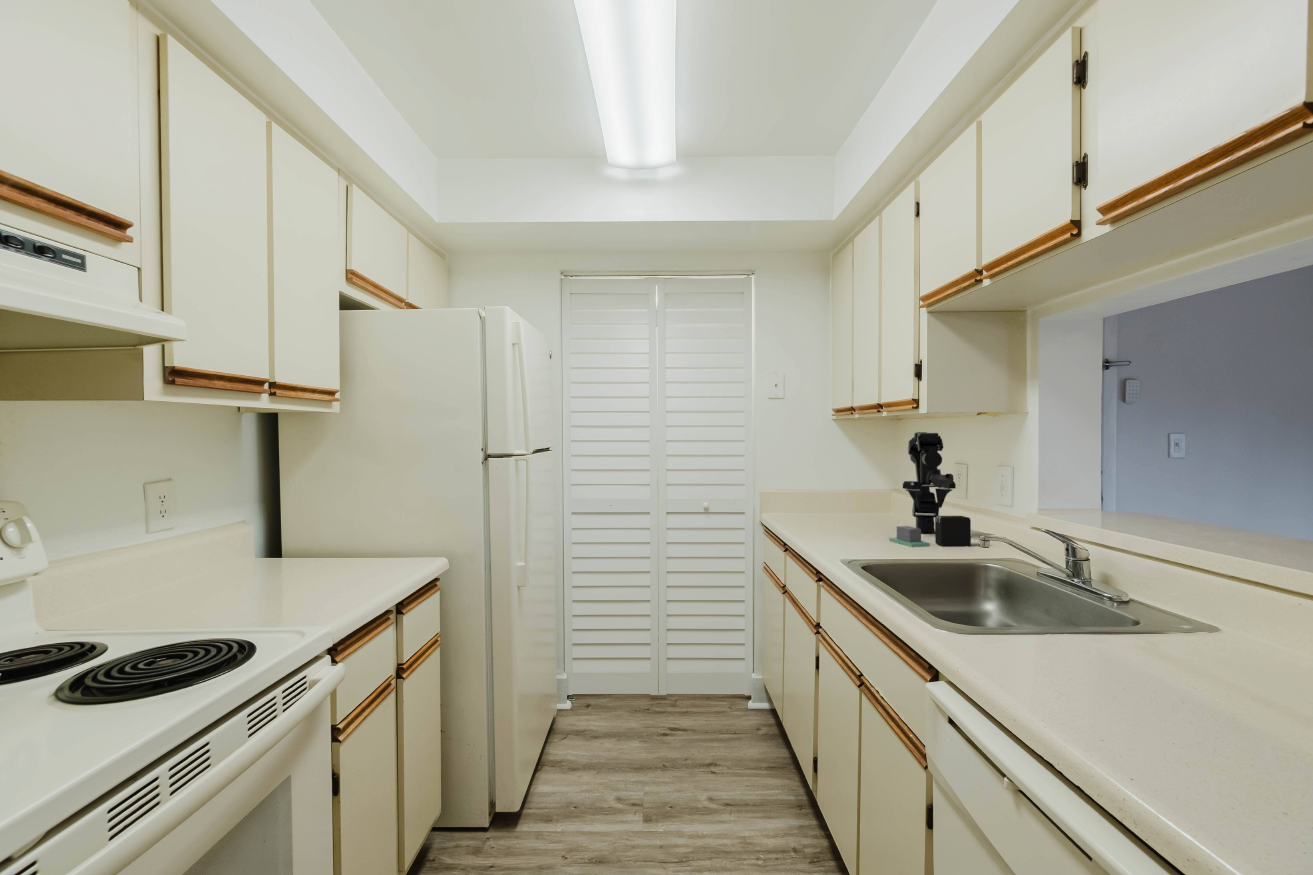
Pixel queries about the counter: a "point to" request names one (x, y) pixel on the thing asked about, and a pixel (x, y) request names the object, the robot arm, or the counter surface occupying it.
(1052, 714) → the counter surface
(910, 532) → the block
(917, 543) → the header board
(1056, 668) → the counter surface
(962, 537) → the electronic device
